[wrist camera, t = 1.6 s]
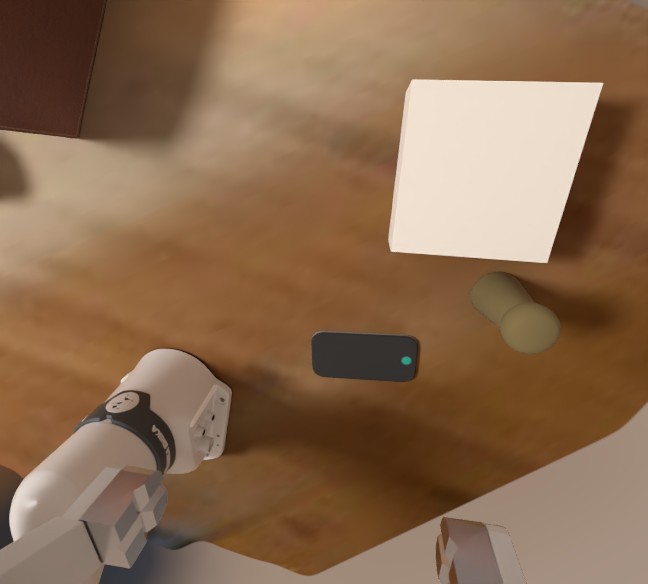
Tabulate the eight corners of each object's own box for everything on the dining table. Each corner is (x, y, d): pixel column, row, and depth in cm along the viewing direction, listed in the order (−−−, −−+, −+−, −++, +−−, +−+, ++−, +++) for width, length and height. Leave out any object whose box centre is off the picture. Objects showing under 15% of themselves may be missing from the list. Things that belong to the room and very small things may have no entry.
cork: (522, 268, 39) (575, 304, 29) (520, 313, 41) (570, 361, 31) (470, 274, 40) (503, 311, 30) (471, 318, 42) (502, 365, 32)
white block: (521, 249, 39) (547, 263, 33) (388, 239, 41) (391, 251, 35) (564, 96, 33) (603, 82, 27) (405, 93, 35) (412, 79, 29)
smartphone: (414, 383, 47) (312, 377, 49) (413, 379, 47) (313, 373, 49) (419, 337, 44) (310, 332, 46) (418, 334, 45) (311, 329, 47)
